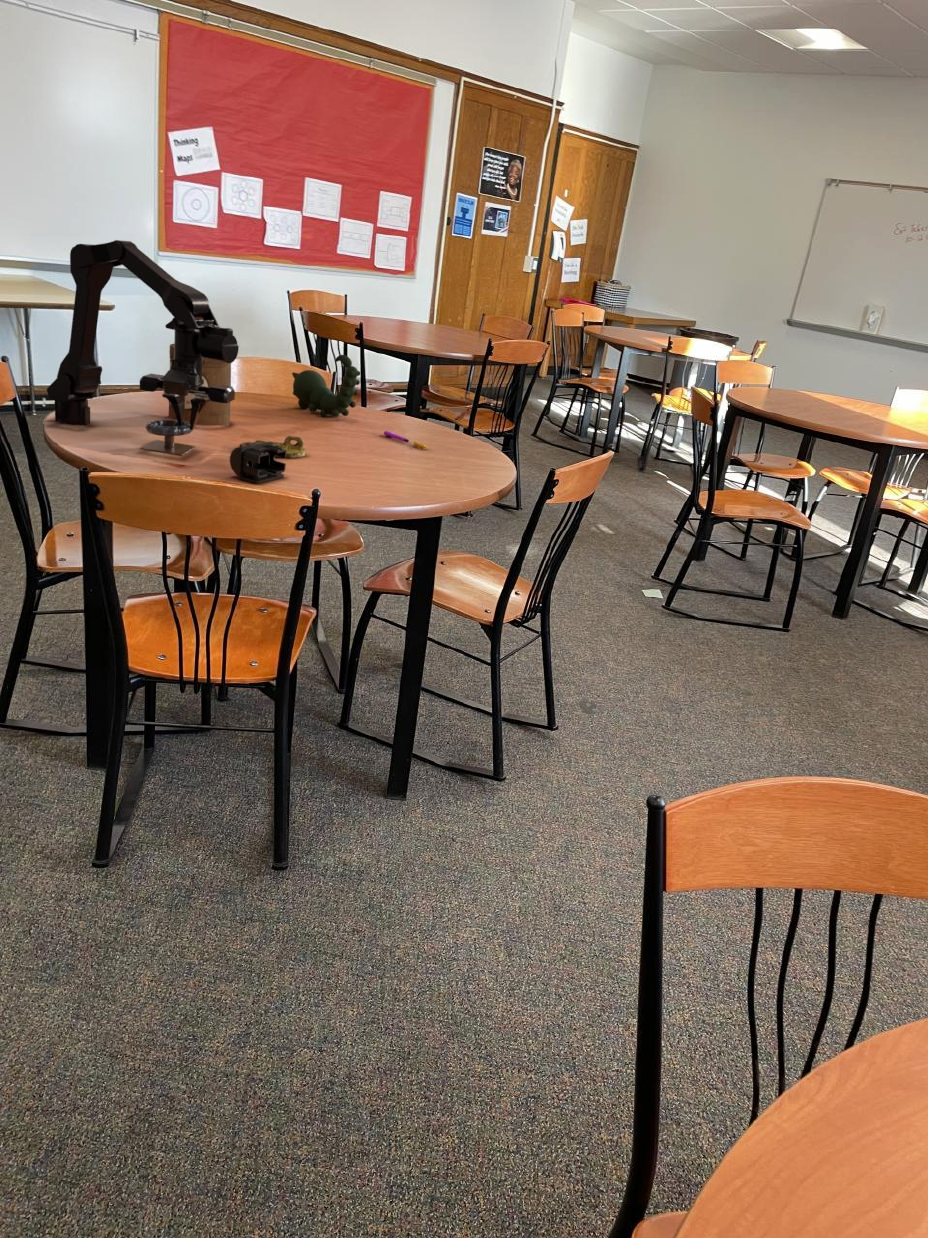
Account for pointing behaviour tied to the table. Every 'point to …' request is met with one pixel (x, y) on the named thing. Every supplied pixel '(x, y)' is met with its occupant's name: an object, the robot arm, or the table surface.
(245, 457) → the end cap
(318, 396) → the toy figurine
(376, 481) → the table surface
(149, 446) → the stand
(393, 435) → the purple paintbrush
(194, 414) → the robot arm
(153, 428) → the ring
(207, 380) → the wooden container
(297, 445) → the seal
